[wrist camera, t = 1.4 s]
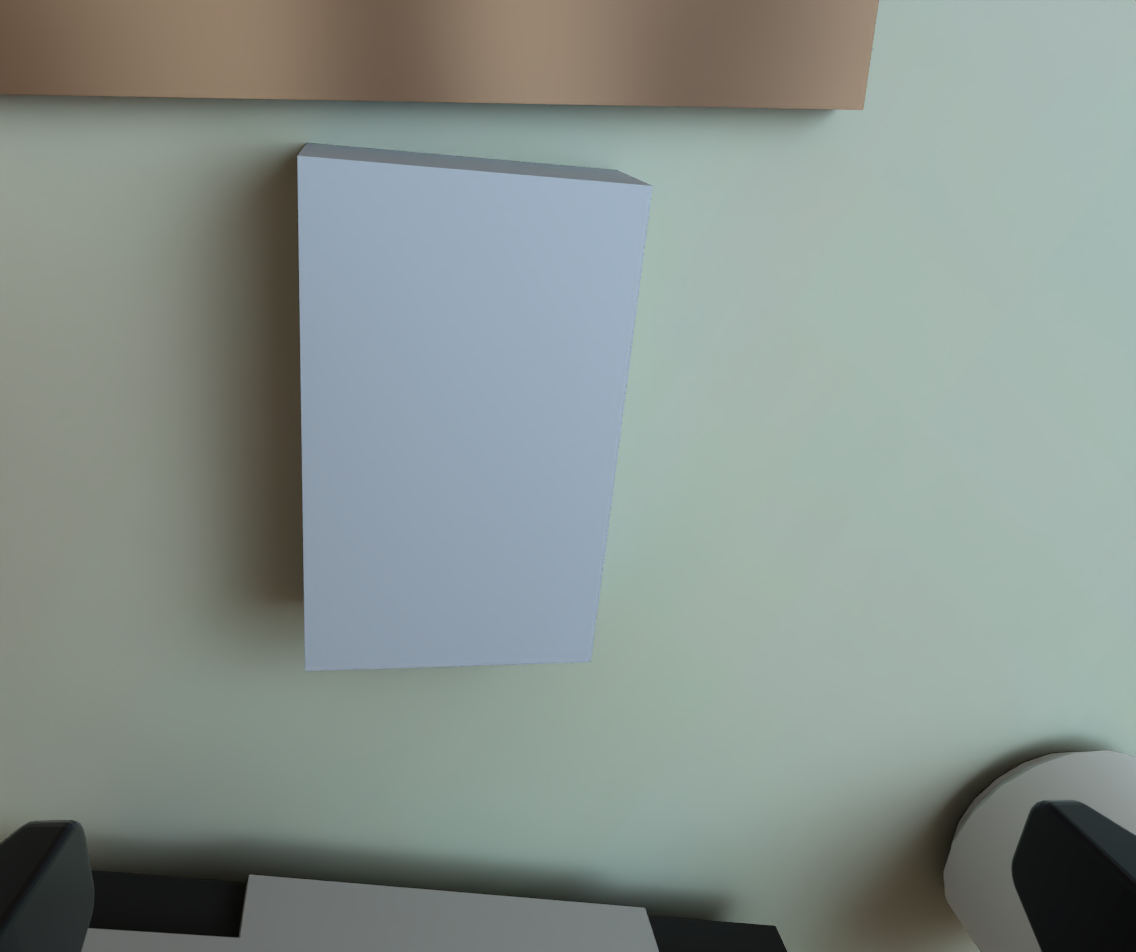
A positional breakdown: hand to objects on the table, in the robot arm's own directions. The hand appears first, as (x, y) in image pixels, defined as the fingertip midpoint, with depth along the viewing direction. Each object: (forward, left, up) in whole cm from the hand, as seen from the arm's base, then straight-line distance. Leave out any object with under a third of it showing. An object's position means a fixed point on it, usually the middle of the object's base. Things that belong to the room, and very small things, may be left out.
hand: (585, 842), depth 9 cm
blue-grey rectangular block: (0, 0, -13) cm, 13 cm away
